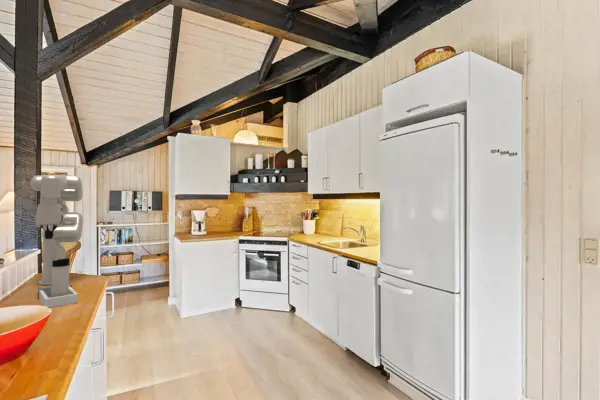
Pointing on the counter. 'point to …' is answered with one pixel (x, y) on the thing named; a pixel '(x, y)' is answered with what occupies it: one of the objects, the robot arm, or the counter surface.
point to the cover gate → (46, 290)
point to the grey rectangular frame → (59, 298)
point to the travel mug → (60, 277)
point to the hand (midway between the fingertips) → (48, 238)
